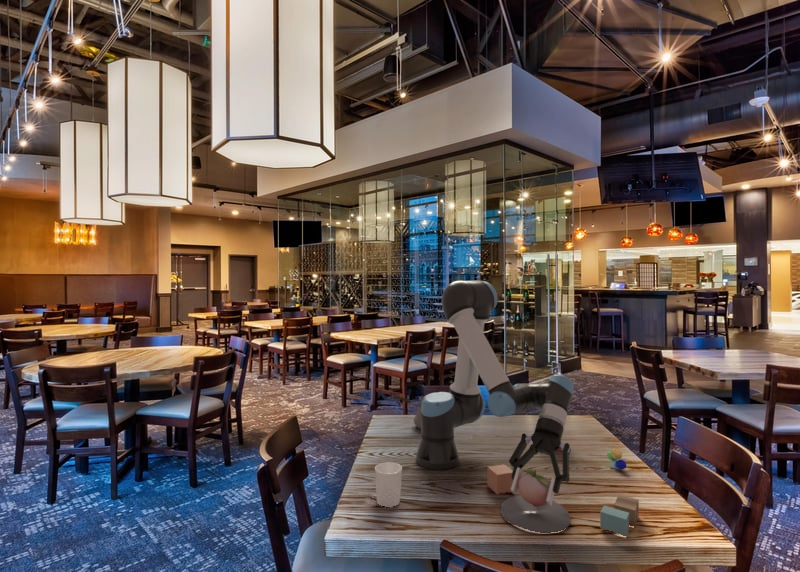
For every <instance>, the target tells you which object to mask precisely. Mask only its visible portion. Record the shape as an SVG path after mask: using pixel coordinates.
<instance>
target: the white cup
mask: <svg viewBox="0 0 800 572" xmlns="http://www.w3.org/2000/svg"><path fill="white" fill-rule="evenodd" d="M374 475H375V476H374V477H375V478H374V480H375V481H374V482H375V492H376V503H377V505H378V504H379V505H378V506H380V505H381V506H380V507H382V506H385V507H384V508H386V507H390V508H394V507H393V506H395V507H397V506H398V505H400V502H401V492H402V475H403V466H402V465H400V464H399V463H397V462H393V461H392V462H390V461H389V462H388V461H386V462H381V463H379V464H377V465H375V467H374ZM396 505H397V506H396Z"/></svg>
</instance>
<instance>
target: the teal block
mask: <svg viewBox="0 0 800 572" xmlns="http://www.w3.org/2000/svg"><path fill="white" fill-rule="evenodd" d="M599 513H600V517H599V519H600V526H599V529H600V528H601V529H604V530H609V531H613V532H615V533H618V534H621V535H623V536H627V533H628V530H629V531H630V528H629V513H628V512H625V511H621V510H618V509H614V507H610V506H607V505H603V507H602V508H601V510H600V512H599ZM628 534H629V533H628ZM627 537H628V536H627Z"/></svg>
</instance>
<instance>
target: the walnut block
mask: <svg viewBox="0 0 800 572" xmlns="http://www.w3.org/2000/svg"><path fill="white" fill-rule="evenodd" d="M639 502H640V499H639V498H634V497H630V496H626V495H622V494H619V493H618V494H617V497H616V499H615V502H614V505H613V508H614V509H618V510H621V511H625V512H628V513H629V525H630V526H634V527H635V526H636V527H637V524H638V521H639V518H638V517H639V515H640V514H639V513H640V509H639V508H640V507H639V506H640V503H639ZM637 520H638V521H637ZM636 523H637V524H636Z"/></svg>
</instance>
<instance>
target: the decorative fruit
mask: <svg viewBox="0 0 800 572" xmlns="http://www.w3.org/2000/svg"><path fill="white" fill-rule="evenodd" d="M523 472H524V474H522V476H521V478H520V479H519V482H518V489H517V491H518V492H519V494H520V495H521V497H522V498H523V499H524V500H525V501H526V502H528V503H530V504H532V505H534V507H538V506H543V505H545V504H546V503H547V501H546V499H547V495H548V491H549V487H550V483H551V481H550V480H549V479H548V478H547V477H545V476H543V475H540V474H538V473H537V471H536V470H531V469H524V471H523ZM520 495H519V496H520Z"/></svg>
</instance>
